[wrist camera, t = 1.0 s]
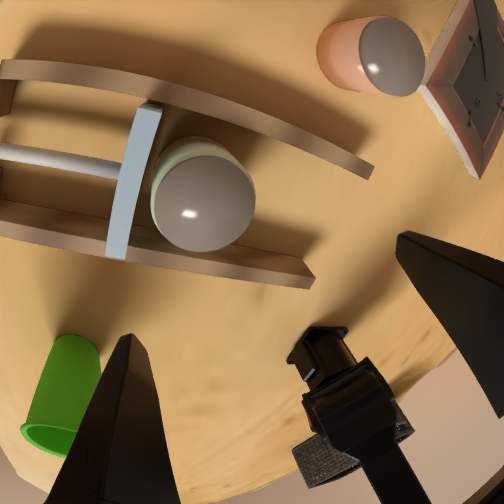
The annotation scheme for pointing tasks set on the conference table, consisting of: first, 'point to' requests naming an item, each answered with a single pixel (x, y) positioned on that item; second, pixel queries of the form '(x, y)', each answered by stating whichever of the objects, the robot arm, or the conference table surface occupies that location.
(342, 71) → the jar
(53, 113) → the conference table surface
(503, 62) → the picture frame
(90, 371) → the cup
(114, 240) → the pusher
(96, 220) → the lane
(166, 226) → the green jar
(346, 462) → the storage bin
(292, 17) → the conference table surface
